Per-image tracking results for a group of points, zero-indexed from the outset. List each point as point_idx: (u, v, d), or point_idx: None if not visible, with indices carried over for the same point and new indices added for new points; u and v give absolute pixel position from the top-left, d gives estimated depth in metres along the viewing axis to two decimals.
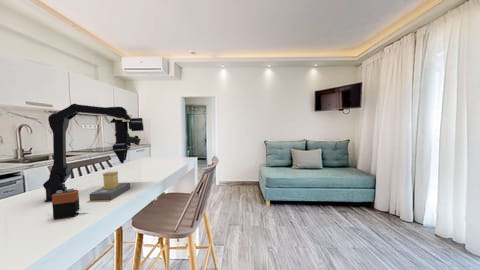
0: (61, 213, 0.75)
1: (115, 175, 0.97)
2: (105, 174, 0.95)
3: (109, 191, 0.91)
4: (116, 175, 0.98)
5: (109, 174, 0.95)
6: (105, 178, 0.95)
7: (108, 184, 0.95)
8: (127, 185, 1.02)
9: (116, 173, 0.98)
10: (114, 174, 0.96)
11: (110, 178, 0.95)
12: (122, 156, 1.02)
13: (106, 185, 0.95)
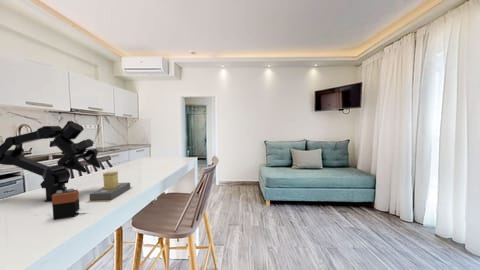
0: (61, 213, 0.75)
1: (115, 175, 0.97)
2: (105, 174, 0.95)
3: (109, 191, 0.91)
4: (116, 175, 0.98)
5: (109, 174, 0.95)
6: (105, 178, 0.95)
7: (108, 184, 0.95)
8: (127, 185, 1.02)
9: (116, 173, 0.98)
10: (114, 174, 0.96)
11: (110, 178, 0.95)
12: (78, 166, 0.91)
13: (106, 185, 0.95)
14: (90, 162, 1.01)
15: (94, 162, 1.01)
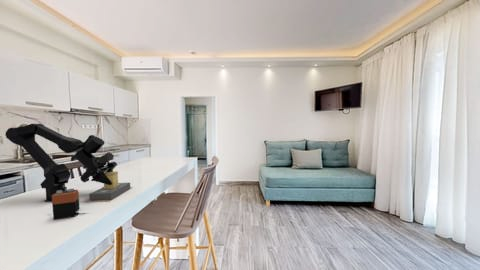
0: (61, 213, 0.75)
1: (115, 175, 0.97)
2: (105, 174, 0.95)
3: (109, 191, 0.91)
4: (116, 175, 0.98)
5: (109, 174, 0.95)
6: None
7: None
8: (127, 185, 1.02)
9: (116, 173, 0.98)
10: (114, 174, 0.96)
11: (110, 178, 0.95)
12: (104, 179, 0.94)
13: (106, 185, 0.95)
14: None
15: None
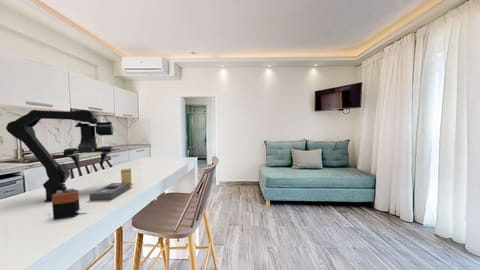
0: (61, 213, 0.75)
1: (130, 171, 1.11)
2: (123, 171, 1.08)
3: (109, 191, 0.91)
4: None
5: (127, 170, 1.09)
6: (123, 174, 1.08)
7: (125, 179, 1.09)
8: (127, 185, 1.02)
9: None
10: (130, 170, 1.10)
11: (128, 174, 1.09)
12: None
13: (123, 180, 1.08)
14: None
15: None
